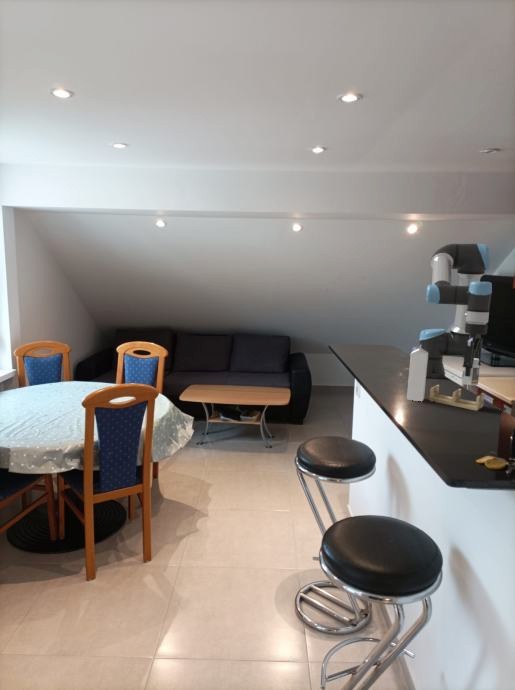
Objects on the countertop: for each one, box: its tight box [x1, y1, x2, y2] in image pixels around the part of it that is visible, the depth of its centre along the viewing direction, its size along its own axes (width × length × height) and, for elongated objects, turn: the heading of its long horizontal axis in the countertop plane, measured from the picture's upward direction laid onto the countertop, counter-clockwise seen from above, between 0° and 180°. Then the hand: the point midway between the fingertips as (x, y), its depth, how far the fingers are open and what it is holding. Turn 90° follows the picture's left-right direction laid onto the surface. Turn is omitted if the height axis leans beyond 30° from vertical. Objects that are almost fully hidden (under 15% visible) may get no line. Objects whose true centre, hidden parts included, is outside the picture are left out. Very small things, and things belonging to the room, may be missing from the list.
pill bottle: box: [461, 358, 481, 386], centre depth 171 cm, size 6×6×10 cm
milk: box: [406, 345, 428, 403], centre depth 179 cm, size 6×6×22 cm
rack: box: [428, 384, 485, 411], centre depth 176 cm, size 8×18×5 cm, turn 49°
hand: (469, 383), depth 172 cm, fingers closed on pill bottle, 6 cm apart
